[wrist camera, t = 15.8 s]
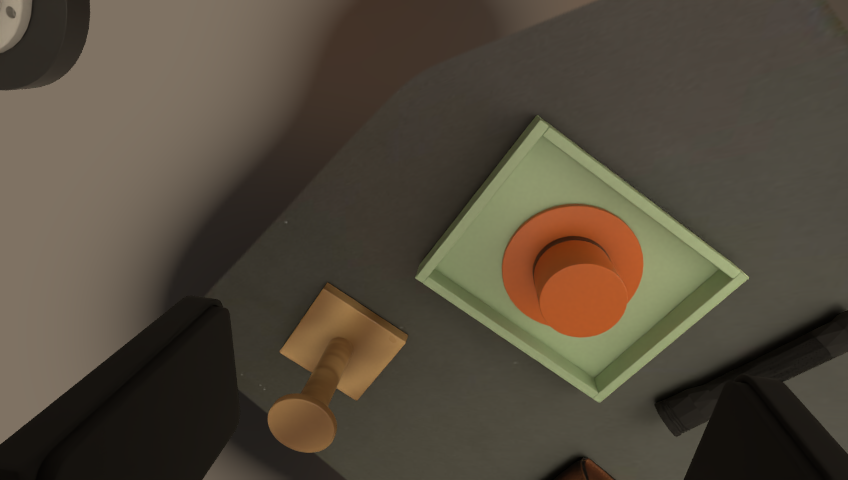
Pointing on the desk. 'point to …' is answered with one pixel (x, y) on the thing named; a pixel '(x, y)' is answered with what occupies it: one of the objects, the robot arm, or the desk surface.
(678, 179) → the desk surface
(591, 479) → the sunglasses case
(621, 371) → the tray
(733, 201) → the desk surface
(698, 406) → the flashlight
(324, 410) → the hat stand
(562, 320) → the small hat
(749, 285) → the desk surface
